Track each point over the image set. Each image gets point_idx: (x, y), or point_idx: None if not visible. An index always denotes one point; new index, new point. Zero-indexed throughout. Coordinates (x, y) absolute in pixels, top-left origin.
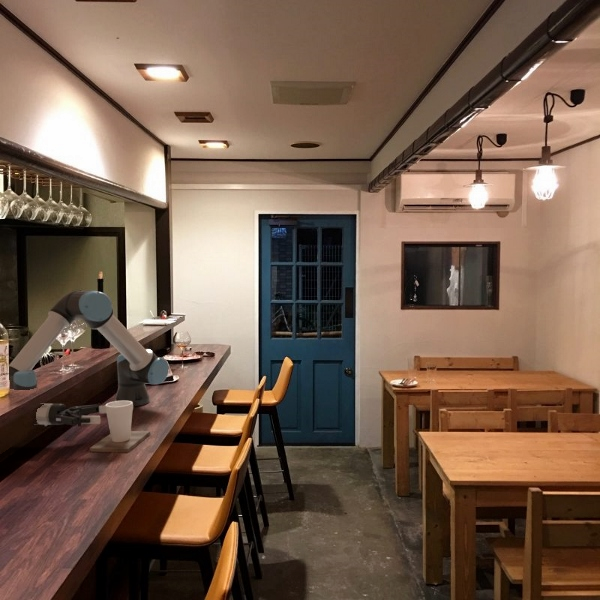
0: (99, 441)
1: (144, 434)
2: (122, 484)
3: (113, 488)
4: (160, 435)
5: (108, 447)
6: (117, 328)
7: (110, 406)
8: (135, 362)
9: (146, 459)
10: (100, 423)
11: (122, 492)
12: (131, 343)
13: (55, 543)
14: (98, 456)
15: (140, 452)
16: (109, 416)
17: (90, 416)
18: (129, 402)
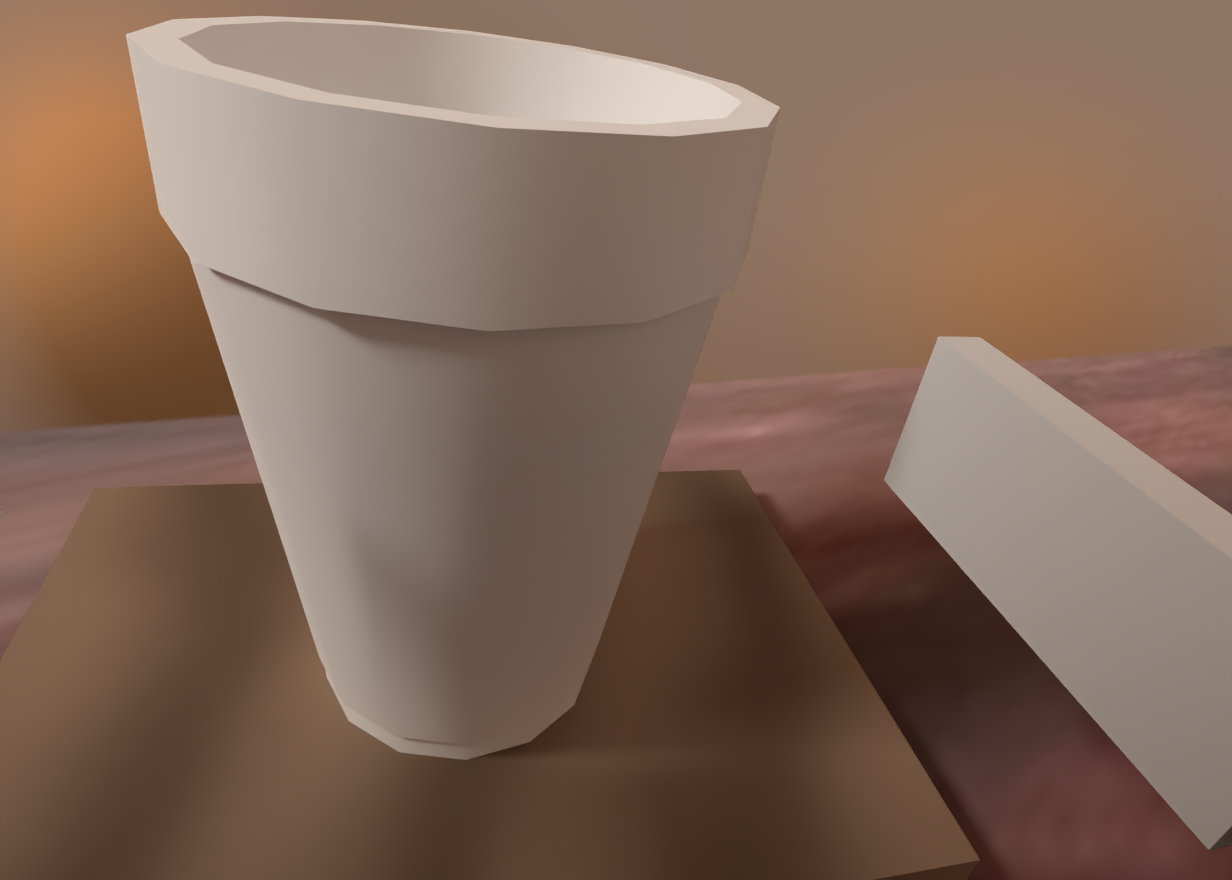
0: None
1: (246, 494)
2: (1134, 373)
3: (1198, 385)
4: (179, 441)
5: (806, 633)
6: None
7: (738, 106)
8: None
9: (797, 380)
10: (889, 479)
11: (1178, 354)
12: None
13: None
14: (988, 673)
15: (696, 435)
16: (704, 337)
17: (1141, 453)
18: (282, 44)
